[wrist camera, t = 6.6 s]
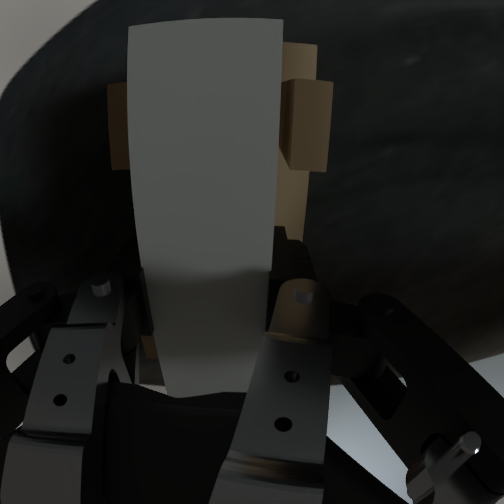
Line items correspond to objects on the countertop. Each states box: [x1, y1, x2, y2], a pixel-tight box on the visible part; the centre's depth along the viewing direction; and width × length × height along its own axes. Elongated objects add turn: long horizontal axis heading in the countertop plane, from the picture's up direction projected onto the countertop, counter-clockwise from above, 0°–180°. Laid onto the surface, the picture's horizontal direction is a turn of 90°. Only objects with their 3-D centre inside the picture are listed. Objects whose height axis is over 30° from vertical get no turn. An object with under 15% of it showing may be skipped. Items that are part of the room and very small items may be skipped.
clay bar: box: [127, 18, 283, 398], centre depth 11 cm, size 4×15×4 cm, turn 178°
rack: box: [107, 42, 333, 359], centre depth 14 cm, size 8×16×6 cm, turn 178°
